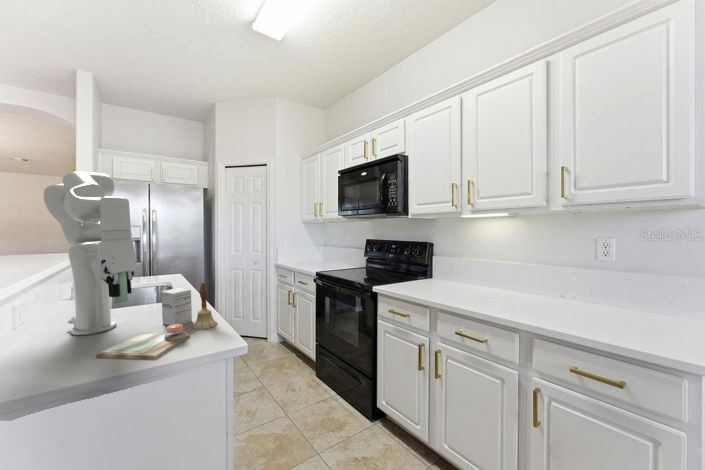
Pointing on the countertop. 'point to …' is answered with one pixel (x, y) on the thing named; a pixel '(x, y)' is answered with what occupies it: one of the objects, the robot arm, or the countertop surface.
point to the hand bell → (204, 312)
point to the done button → (174, 328)
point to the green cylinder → (122, 288)
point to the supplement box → (176, 306)
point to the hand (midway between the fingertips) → (120, 294)
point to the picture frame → (144, 345)
